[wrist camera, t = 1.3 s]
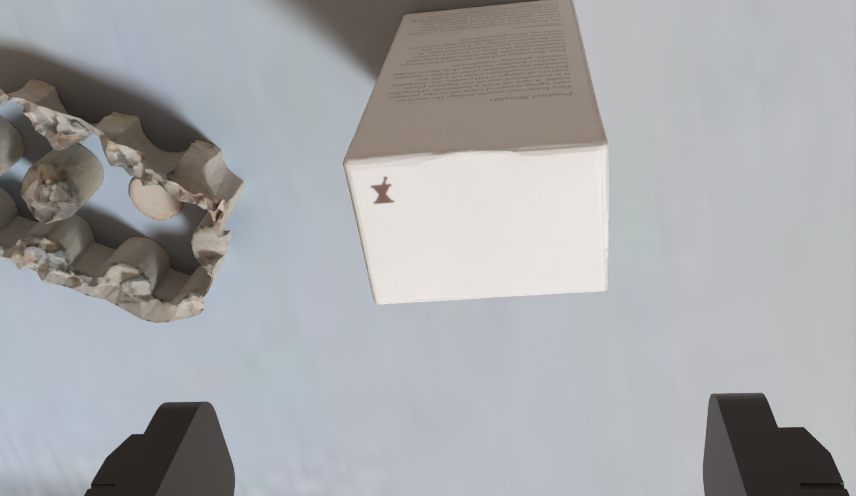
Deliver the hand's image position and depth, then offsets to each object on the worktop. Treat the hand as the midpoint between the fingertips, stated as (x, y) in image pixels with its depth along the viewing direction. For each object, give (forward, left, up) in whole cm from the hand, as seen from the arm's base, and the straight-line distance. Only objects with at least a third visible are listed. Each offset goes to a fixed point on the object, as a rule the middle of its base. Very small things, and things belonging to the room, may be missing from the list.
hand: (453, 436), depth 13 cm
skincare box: (0, 0, -19) cm, 19 cm away
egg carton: (+16, +4, -19) cm, 25 cm away
